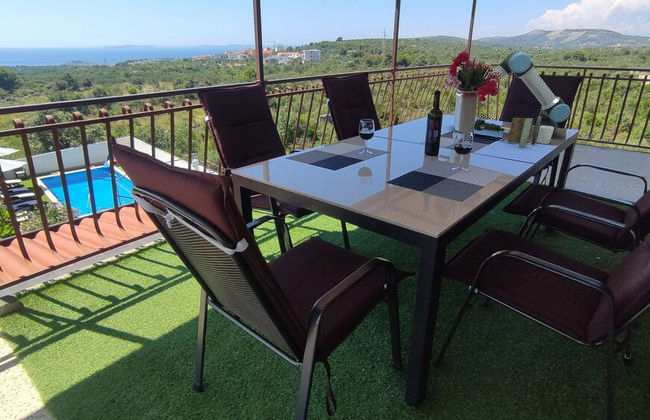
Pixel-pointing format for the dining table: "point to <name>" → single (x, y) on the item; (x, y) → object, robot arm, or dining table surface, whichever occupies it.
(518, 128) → the brown green flat panel
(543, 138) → the white cup
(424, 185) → the dining table surface
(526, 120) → the frame
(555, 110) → the robot arm
